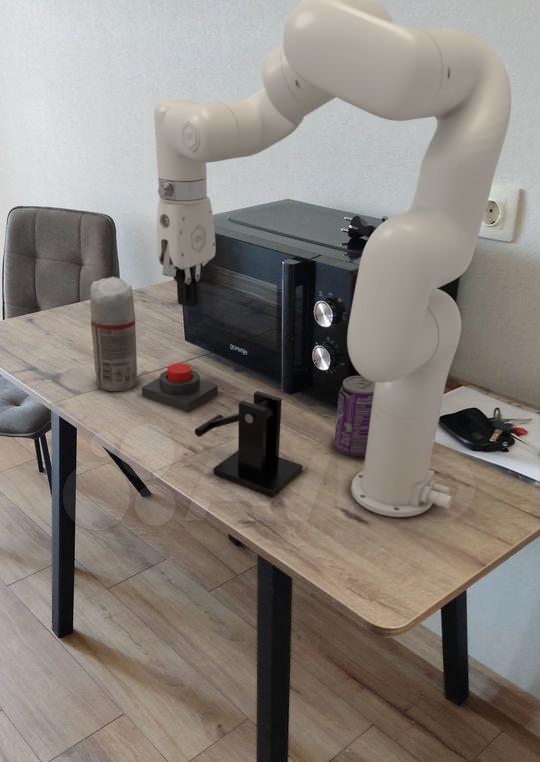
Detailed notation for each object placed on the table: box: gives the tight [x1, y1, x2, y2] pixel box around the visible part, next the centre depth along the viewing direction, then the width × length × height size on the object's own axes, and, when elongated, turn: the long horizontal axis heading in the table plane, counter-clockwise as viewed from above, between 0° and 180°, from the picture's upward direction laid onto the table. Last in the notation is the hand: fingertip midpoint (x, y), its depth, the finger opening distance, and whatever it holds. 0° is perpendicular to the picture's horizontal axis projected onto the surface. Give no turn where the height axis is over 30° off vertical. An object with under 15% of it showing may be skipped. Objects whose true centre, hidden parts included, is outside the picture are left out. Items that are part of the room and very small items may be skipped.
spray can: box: [89, 275, 138, 392], centre depth 131 cm, size 8×8×20 cm
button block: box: [141, 369, 219, 413], centre depth 132 cm, size 11×9×4 cm
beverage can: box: [333, 375, 375, 457], centre depth 116 cm, size 7×7×12 cm
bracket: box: [213, 390, 303, 498], centre depth 108 cm, size 11×9×13 cm
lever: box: [194, 400, 274, 438], centre depth 109 cm, size 13×6×2 cm, turn 57°
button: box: [166, 363, 192, 382], centre depth 131 cm, size 4×4×2 cm
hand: (188, 304), depth 120 cm, fingers closed
